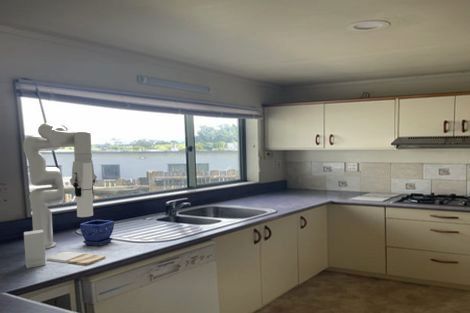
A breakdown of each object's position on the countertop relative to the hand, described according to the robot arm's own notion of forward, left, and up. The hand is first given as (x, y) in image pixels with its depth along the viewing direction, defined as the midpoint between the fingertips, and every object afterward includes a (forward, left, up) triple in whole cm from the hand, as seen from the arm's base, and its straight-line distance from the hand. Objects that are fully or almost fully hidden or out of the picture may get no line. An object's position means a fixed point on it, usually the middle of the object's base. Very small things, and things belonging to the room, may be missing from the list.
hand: (84, 194), depth 192 cm
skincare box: (-18, -14, -32) cm, 39 cm away
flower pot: (-17, +27, -32) cm, 45 cm away
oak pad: (0, 0, -31) cm, 31 cm away
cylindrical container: (0, 0, -10) cm, 10 cm away
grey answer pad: (-13, 0, -31) cm, 34 cm away
